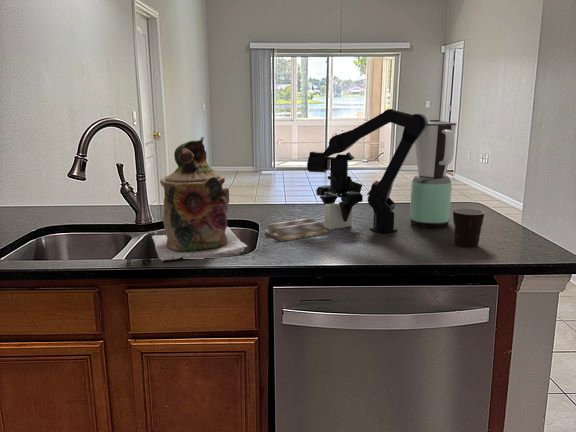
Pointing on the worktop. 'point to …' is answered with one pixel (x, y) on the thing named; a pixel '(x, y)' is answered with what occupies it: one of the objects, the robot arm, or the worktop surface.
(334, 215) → the door panel
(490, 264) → the worktop surface
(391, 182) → the robot arm
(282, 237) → the track base
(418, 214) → the mint green blender
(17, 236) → the worktop surface
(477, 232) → the dark brown cup
